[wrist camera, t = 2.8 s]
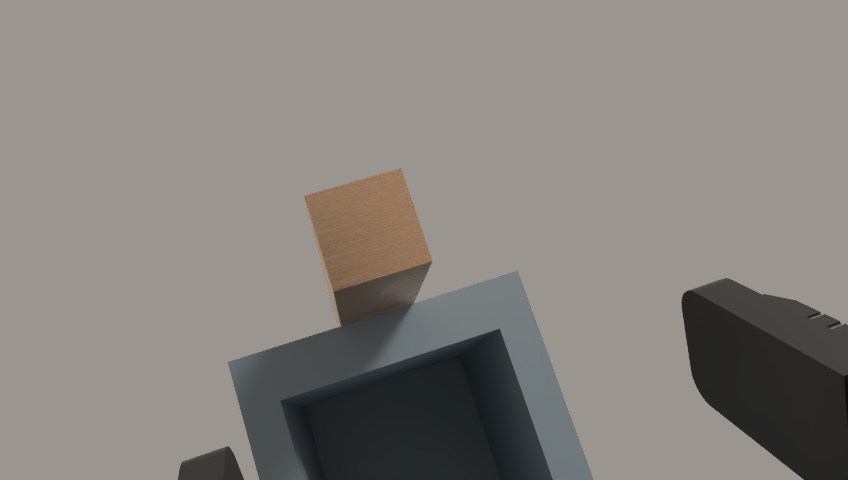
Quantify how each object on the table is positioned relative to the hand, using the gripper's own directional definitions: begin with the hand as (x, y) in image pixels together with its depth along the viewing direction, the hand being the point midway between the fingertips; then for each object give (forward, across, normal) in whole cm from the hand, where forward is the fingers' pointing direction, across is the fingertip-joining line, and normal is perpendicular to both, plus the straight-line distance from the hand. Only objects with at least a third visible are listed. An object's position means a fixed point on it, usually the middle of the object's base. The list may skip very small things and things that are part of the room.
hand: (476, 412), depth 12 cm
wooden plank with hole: (+20, 0, +6) cm, 21 cm away
